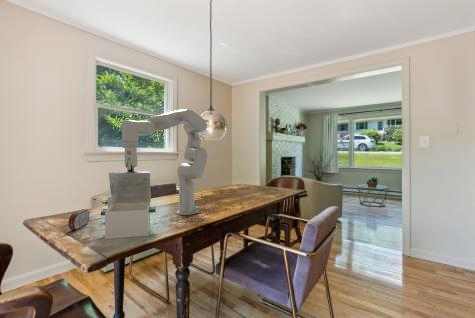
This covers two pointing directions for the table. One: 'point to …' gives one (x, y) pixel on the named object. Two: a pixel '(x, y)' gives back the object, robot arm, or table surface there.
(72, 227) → the tin
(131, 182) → the lid
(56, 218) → the table surface
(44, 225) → the table surface
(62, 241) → the table surface
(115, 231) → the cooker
